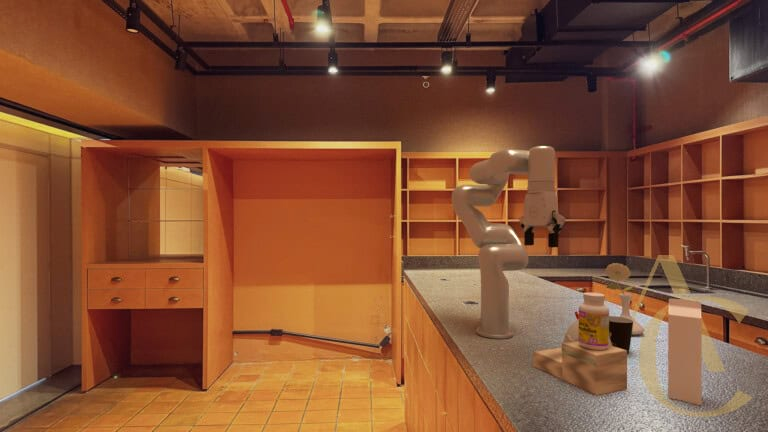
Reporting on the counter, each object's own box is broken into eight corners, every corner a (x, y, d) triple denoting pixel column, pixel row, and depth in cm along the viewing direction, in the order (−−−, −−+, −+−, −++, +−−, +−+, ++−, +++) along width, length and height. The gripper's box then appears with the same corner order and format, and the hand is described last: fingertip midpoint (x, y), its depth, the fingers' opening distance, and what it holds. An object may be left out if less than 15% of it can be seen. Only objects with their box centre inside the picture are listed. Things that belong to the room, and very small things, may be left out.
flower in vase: (650, 334, 145) (650, 264, 145) (635, 339, 139) (635, 265, 139) (612, 326, 156) (612, 261, 156) (597, 330, 149) (597, 262, 150)
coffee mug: (638, 357, 119) (638, 323, 120) (606, 355, 121) (606, 321, 121) (623, 345, 131) (623, 314, 131) (594, 343, 132) (594, 313, 133)
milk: (668, 390, 96) (668, 296, 97) (701, 396, 93) (700, 299, 93) (668, 398, 91) (667, 300, 92) (702, 405, 88) (701, 303, 88)
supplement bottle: (572, 344, 101) (572, 292, 101) (590, 341, 104) (590, 291, 104) (596, 352, 95) (596, 297, 95) (615, 348, 98) (615, 295, 98)
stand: (532, 366, 111) (533, 333, 111) (561, 361, 115) (561, 329, 115) (595, 395, 93) (595, 355, 93) (627, 388, 96) (627, 350, 97)
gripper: (511, 190, 127) (511, 244, 127) (553, 185, 111) (553, 248, 111) (530, 191, 130) (530, 244, 130) (574, 186, 114) (573, 248, 114)
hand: (540, 246), depth 120 cm, fingers open, 9 cm apart
